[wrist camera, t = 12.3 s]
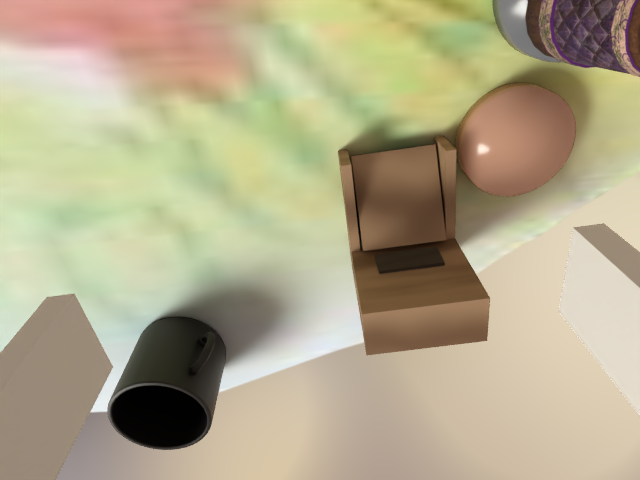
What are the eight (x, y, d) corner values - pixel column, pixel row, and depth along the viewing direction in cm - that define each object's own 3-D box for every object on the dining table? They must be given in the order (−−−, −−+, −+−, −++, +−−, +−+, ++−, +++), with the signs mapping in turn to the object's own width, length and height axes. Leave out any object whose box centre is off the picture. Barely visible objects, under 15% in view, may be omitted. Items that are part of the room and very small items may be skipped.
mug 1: (258, 330, 47) (248, 398, 39) (196, 390, 52) (176, 462, 44) (182, 284, 44) (155, 349, 36) (123, 352, 48) (88, 423, 41)
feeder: (338, 151, 37) (350, 214, 27) (443, 135, 37) (497, 194, 27) (352, 266, 43) (366, 355, 33) (443, 255, 43) (487, 340, 33)
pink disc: (456, 91, 35) (464, 97, 34) (570, 74, 35) (584, 79, 33) (454, 193, 40) (461, 202, 38) (555, 179, 39) (567, 188, 38)
